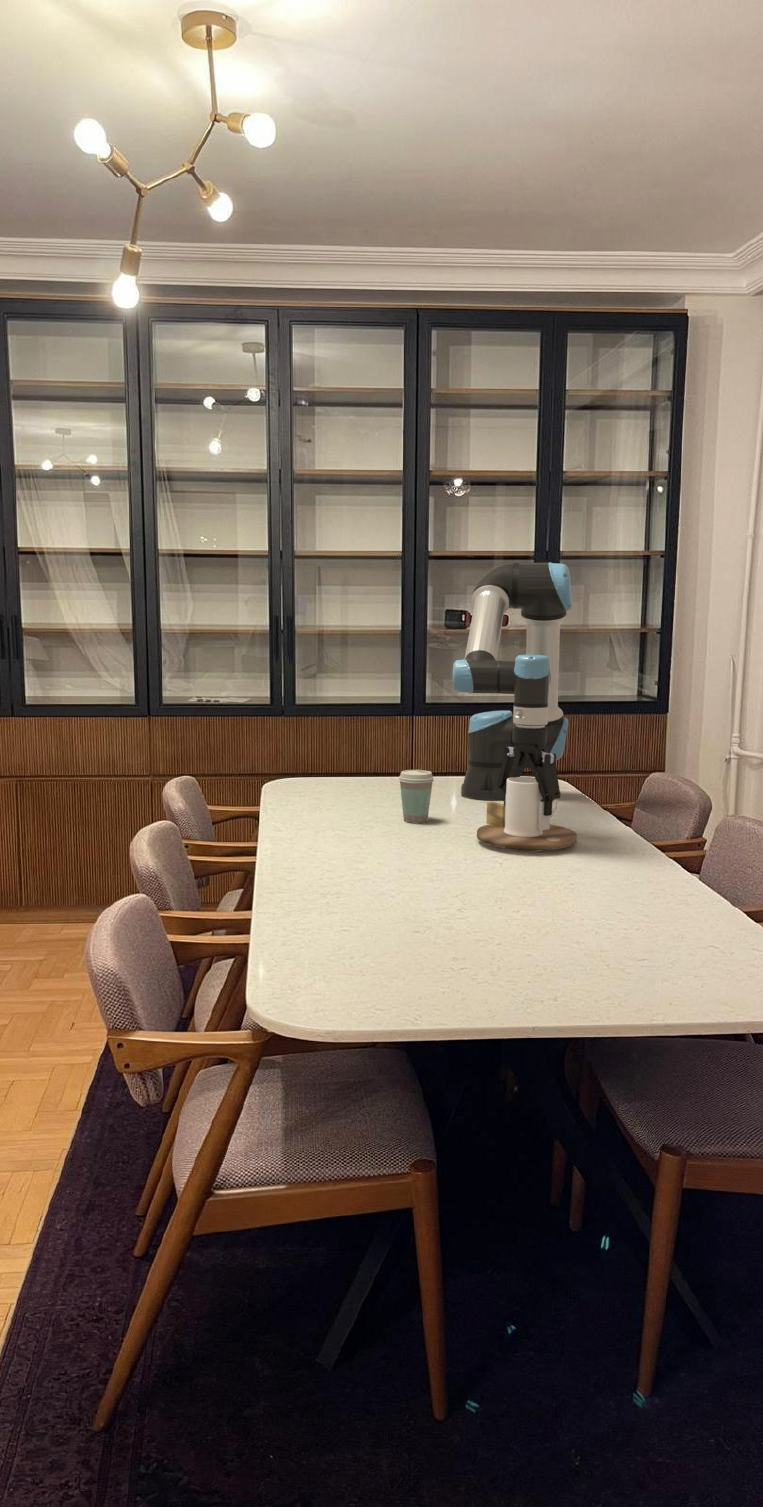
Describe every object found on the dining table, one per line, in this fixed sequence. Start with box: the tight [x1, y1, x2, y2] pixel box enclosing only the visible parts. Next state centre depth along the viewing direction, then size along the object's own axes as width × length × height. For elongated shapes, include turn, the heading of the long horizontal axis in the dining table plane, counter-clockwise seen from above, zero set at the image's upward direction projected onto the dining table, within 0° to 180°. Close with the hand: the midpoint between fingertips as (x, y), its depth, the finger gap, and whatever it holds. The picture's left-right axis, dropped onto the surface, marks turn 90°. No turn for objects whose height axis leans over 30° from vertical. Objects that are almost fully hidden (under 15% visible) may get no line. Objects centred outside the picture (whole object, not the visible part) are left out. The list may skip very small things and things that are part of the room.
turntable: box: [476, 800, 578, 851], centre depth 231 cm, size 23×22×6 cm
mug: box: [504, 776, 559, 837], centre depth 230 cm, size 12×8×12 cm
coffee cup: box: [398, 769, 435, 824], centre depth 253 cm, size 8×8×12 cm
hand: (526, 825), depth 231 cm, fingers open, 10 cm apart
